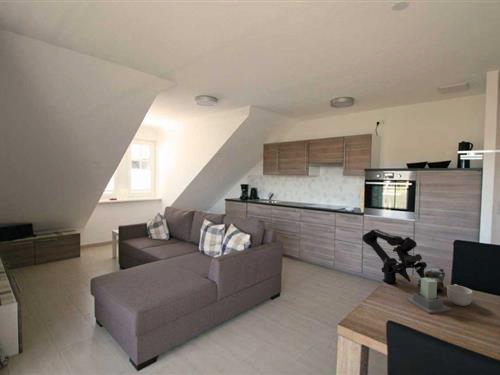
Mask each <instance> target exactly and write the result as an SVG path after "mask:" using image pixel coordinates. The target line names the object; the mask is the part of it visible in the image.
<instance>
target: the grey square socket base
mask: <svg viewBox="0 0 500 375" xmlns="http://www.w3.org/2000/svg"><path fill="white" fill-rule="evenodd" d="M405 300H406V301H407V302H408V303H409V304H411V305H413V306H415V307H417V308H418V309H420V310H422V311H423V312H425V313H427V314H429V315H431V314H437V313H444V312H449V311H451V310H452V309H451V307H449V306H447V305H445V304H444V299H443V298H442V297H440V296H438V295H436V299H435V300H427V299H425V298H424V297H422V296H420V291H419V292H413V295H412V297H409V298H406V299H405Z"/></svg>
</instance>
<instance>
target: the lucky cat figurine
mask: <svg viewBox="0 0 500 375" xmlns="http://www.w3.org/2000/svg"><path fill="white" fill-rule="evenodd" d="M444 271H445V270H444V269H443V268H440V269H439V268H435V267H431V268H428V269H426V270H424V276H425V278H431V279H433V280H435V281H437V290H439V291H441V292H442V291H444V290H445V286H444V280H445V277H446V272H444ZM417 286H421V277H419V279H418V280H417Z"/></svg>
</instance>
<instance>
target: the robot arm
mask: <svg viewBox="0 0 500 375" xmlns="http://www.w3.org/2000/svg"><path fill="white" fill-rule="evenodd" d="M378 238H379V239H381V240H383V241H385V242H386V243H387V244H388V245H390V246H392V247H393V250H392V252H393V253H394V252H395V253H396V254H397V256H398V257H399V258H398V261H399V262H398V261H397V259H396V258H395V257H391V256H389V255H388V254H387V252H386V251H385V250H384V249H383V248H382V246H381V245H380V243H378ZM362 240H363V243H365V244H367V246H370V247H371V249H372V250H373V251H374V253H376V255H377V256H378V257H379V258H380V259H381V261H382V264H383V266H382V268H381V272H382V273H383V278H382V279H381V281H382V282H384V281H385V282H384V283H386V284H387V285H394V284H398V282H397V276H396V274H398V275H400V276H402V277H403V278H404V279H405V280H407V282H408V283H410V282H411V278H410V276H409V274H408V272H407V269H415V272H416V274H417V275H418V276H419V278H425V276H424V274H425V269H426V268H427V267H428V264H427V262H425V261H421V260H423V257H422V255H421V254H420V253H418V254H417V253H416V254H415V255H412V254H409V252H411V251H412V250H414V249H415V248H416V247H417V246H418V244H417V242H416V241H415V240H414V239H412V238H411V237H410V236H406V237H405V238H403V237H402V236H400V235H393V234H390V233H387V232H384V231H381V230H379V229H377V228H376V229H371V230H370V231H369V232H366V233H364V234H363V236H362Z"/></svg>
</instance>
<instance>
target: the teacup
mask: <svg viewBox="0 0 500 375" xmlns="http://www.w3.org/2000/svg"><path fill="white" fill-rule="evenodd" d="M446 294H447V298H448V300H449V301H450V302H451V303H452V304H454V305H456V306H462V307H465V306H466V307H467V306H468V305H470V304H471V303H472V301H473V290H472V289H470V288H468V287H466V286H463V285H458V284H456V283H455V284H451V285H450V284H448V285H447V286H446Z"/></svg>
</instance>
